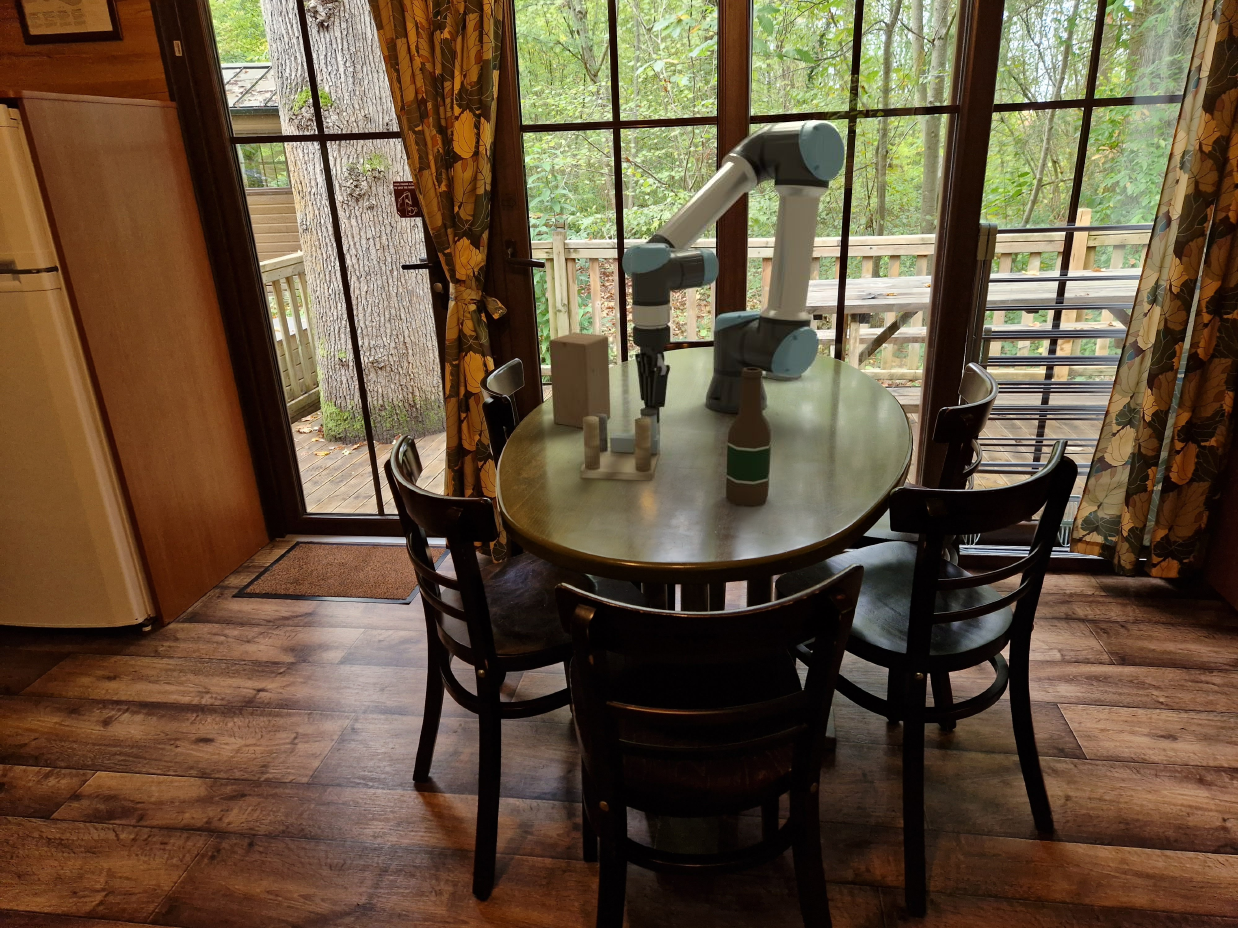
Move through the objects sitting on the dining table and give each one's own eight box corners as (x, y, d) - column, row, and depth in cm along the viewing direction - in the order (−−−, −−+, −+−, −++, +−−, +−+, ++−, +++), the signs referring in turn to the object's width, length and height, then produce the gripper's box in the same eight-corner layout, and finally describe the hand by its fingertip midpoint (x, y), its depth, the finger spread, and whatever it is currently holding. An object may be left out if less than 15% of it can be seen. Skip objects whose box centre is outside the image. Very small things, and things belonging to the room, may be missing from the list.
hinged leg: (657, 454, 159) (657, 412, 156) (610, 451, 161) (609, 410, 158) (659, 448, 162) (659, 407, 159) (613, 446, 164) (612, 406, 161)
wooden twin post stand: (660, 455, 164) (659, 402, 160) (652, 480, 151) (651, 423, 147) (594, 453, 166) (592, 400, 162) (580, 477, 153) (578, 421, 149)
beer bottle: (721, 491, 145) (724, 364, 136) (762, 489, 145) (768, 362, 137) (730, 508, 138) (734, 375, 129) (774, 506, 138) (781, 373, 130)
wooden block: (587, 429, 181) (584, 343, 174) (552, 423, 186) (548, 339, 179) (611, 418, 189) (609, 335, 181) (577, 412, 194) (573, 331, 186)
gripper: (682, 328, 151) (682, 443, 160) (656, 317, 162) (657, 425, 171) (645, 332, 149) (647, 449, 158) (622, 320, 160) (625, 430, 169)
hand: (653, 436), depth 164 cm, fingers closed
